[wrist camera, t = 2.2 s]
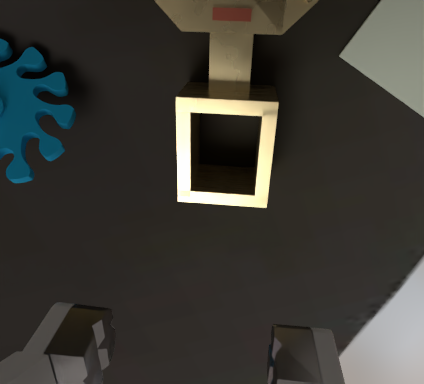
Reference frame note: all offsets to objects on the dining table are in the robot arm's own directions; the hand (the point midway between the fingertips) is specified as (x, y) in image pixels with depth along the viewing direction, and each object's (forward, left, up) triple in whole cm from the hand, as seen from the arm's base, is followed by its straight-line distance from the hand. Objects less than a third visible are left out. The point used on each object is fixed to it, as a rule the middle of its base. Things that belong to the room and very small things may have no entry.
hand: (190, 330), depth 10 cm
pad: (-6, +11, -17) cm, 22 cm away
